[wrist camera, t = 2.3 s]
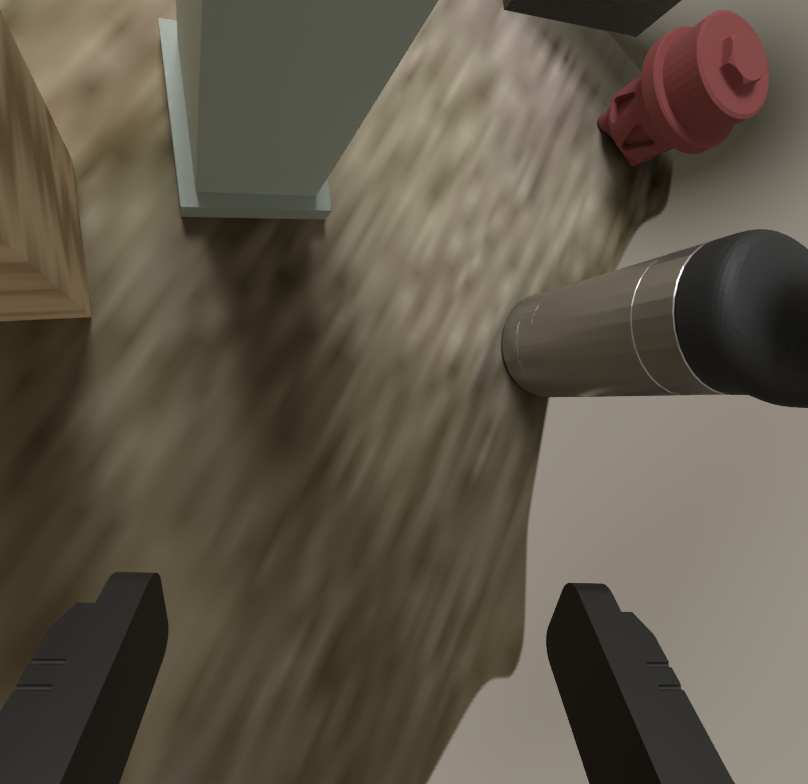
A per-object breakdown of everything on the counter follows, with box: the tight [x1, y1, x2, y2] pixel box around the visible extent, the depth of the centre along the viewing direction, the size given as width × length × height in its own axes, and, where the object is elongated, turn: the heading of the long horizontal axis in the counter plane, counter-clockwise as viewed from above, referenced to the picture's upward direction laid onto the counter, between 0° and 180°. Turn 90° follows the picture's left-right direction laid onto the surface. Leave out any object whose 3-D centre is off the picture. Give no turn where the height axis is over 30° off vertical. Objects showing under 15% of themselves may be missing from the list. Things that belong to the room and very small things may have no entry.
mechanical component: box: [598, 10, 769, 166], centre depth 45 cm, size 12×10×10 cm
